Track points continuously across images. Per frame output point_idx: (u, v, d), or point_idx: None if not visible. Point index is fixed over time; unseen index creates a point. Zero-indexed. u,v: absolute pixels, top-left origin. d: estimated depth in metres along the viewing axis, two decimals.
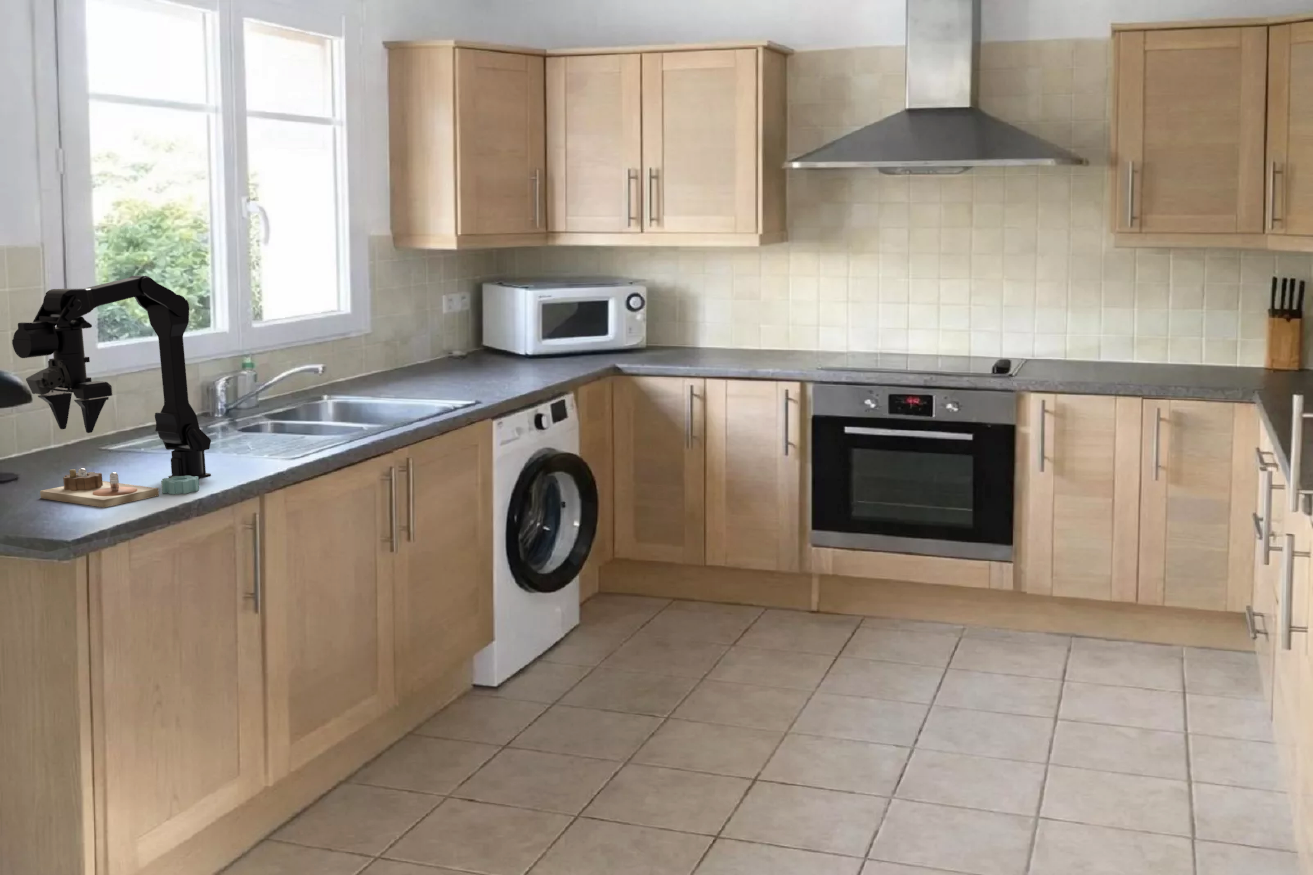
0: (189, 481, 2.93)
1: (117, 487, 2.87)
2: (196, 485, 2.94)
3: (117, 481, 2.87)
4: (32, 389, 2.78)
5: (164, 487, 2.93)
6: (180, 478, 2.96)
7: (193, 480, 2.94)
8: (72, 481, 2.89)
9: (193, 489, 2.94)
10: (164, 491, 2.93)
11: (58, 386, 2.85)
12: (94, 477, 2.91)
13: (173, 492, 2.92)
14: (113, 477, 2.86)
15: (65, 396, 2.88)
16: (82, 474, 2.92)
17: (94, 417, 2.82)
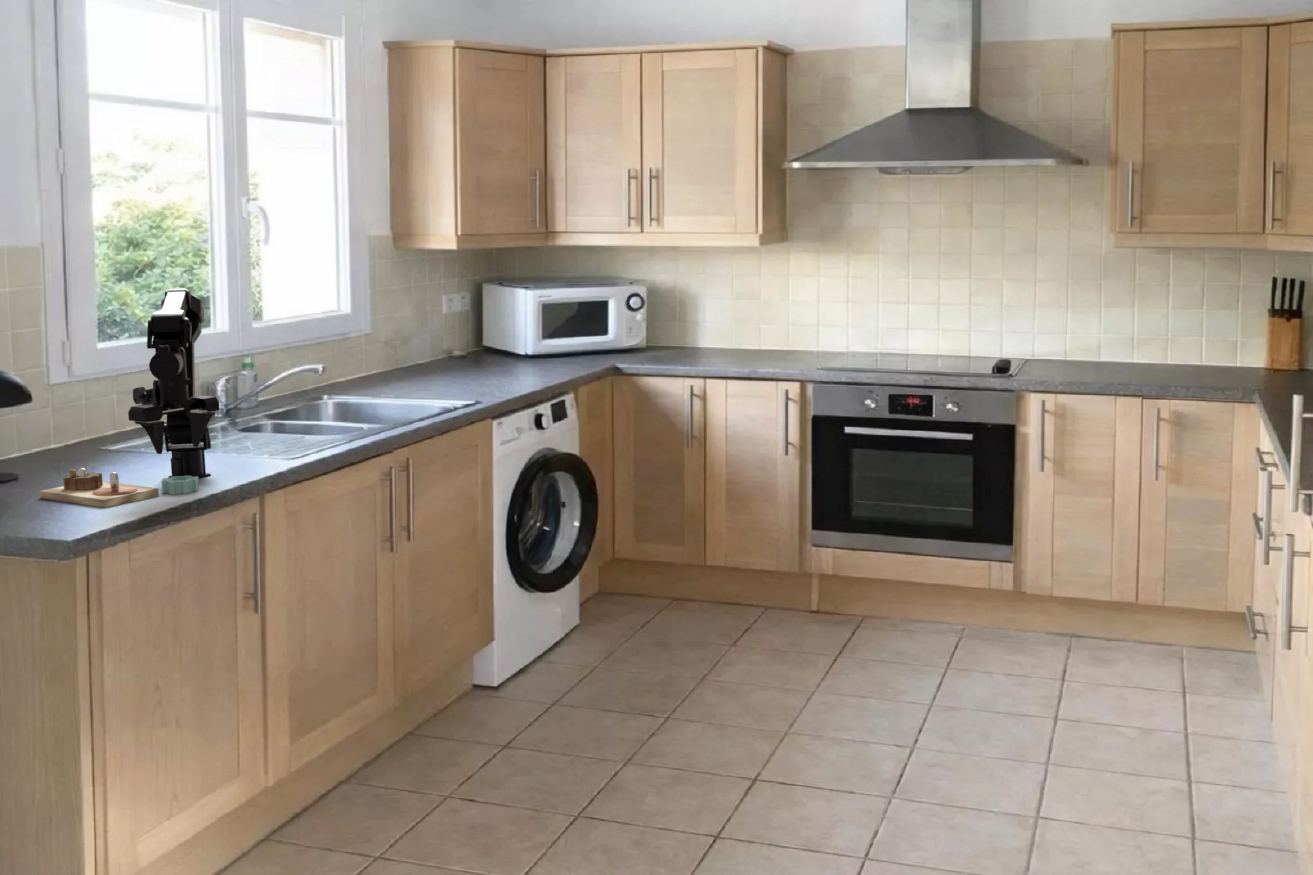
0: (189, 481, 2.93)
1: (117, 487, 2.87)
2: (196, 485, 2.94)
3: (117, 481, 2.87)
4: None
5: (164, 487, 2.93)
6: (180, 478, 2.96)
7: (193, 480, 2.94)
8: (72, 481, 2.89)
9: (193, 489, 2.94)
10: (164, 491, 2.93)
11: None
12: (94, 477, 2.91)
13: (173, 492, 2.92)
14: (113, 477, 2.86)
15: (200, 416, 2.96)
16: (82, 474, 2.92)
17: (156, 440, 2.88)
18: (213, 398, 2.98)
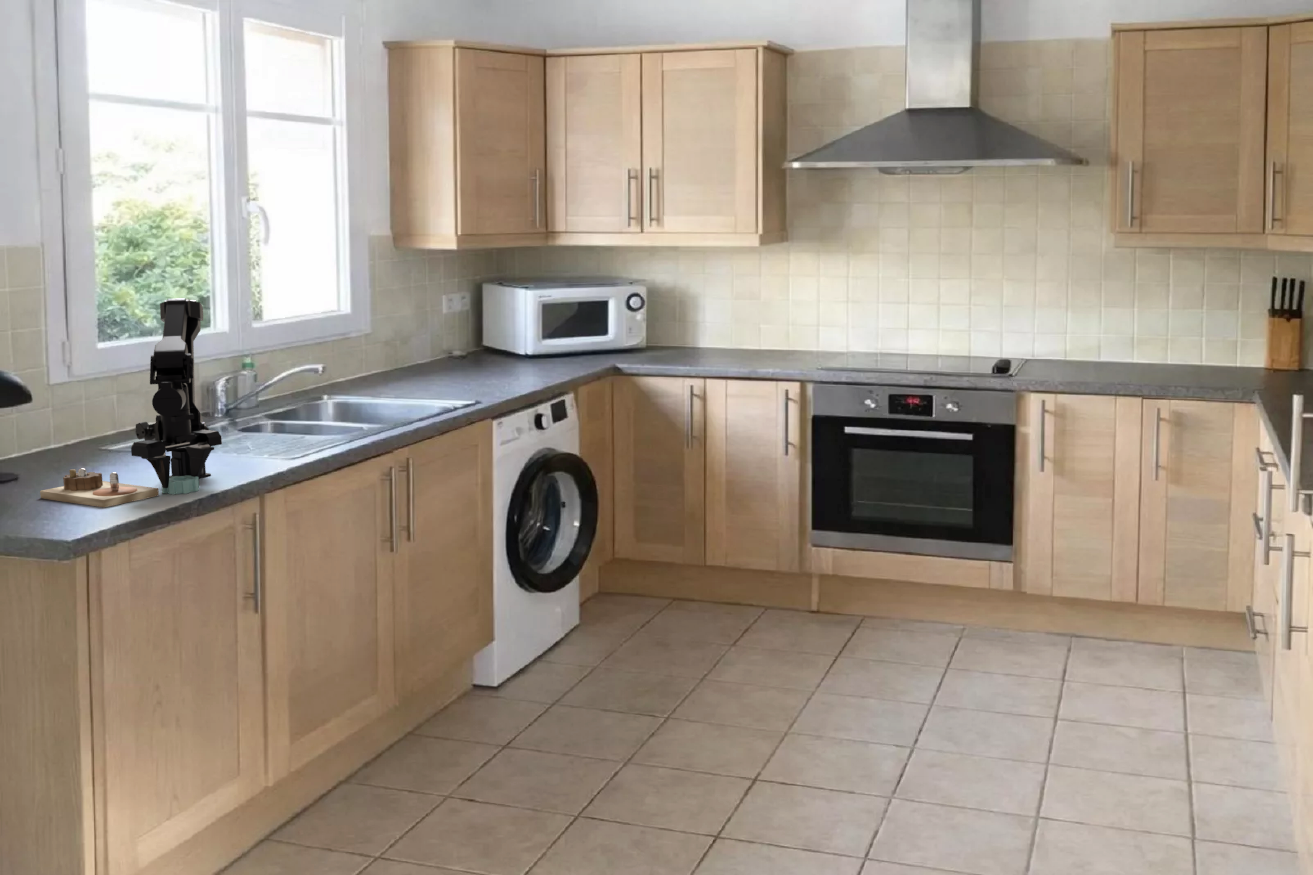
0: (189, 481, 2.93)
1: (117, 487, 2.87)
2: (196, 485, 2.94)
3: (117, 481, 2.87)
4: None
5: None
6: (180, 478, 2.96)
7: (193, 480, 2.94)
8: (72, 481, 2.89)
9: (193, 489, 2.94)
10: (164, 491, 2.93)
11: None
12: (94, 477, 2.91)
13: (173, 492, 2.92)
14: (113, 477, 2.86)
15: (199, 451, 2.97)
16: (82, 474, 2.92)
17: (162, 474, 2.90)
18: (215, 432, 2.99)
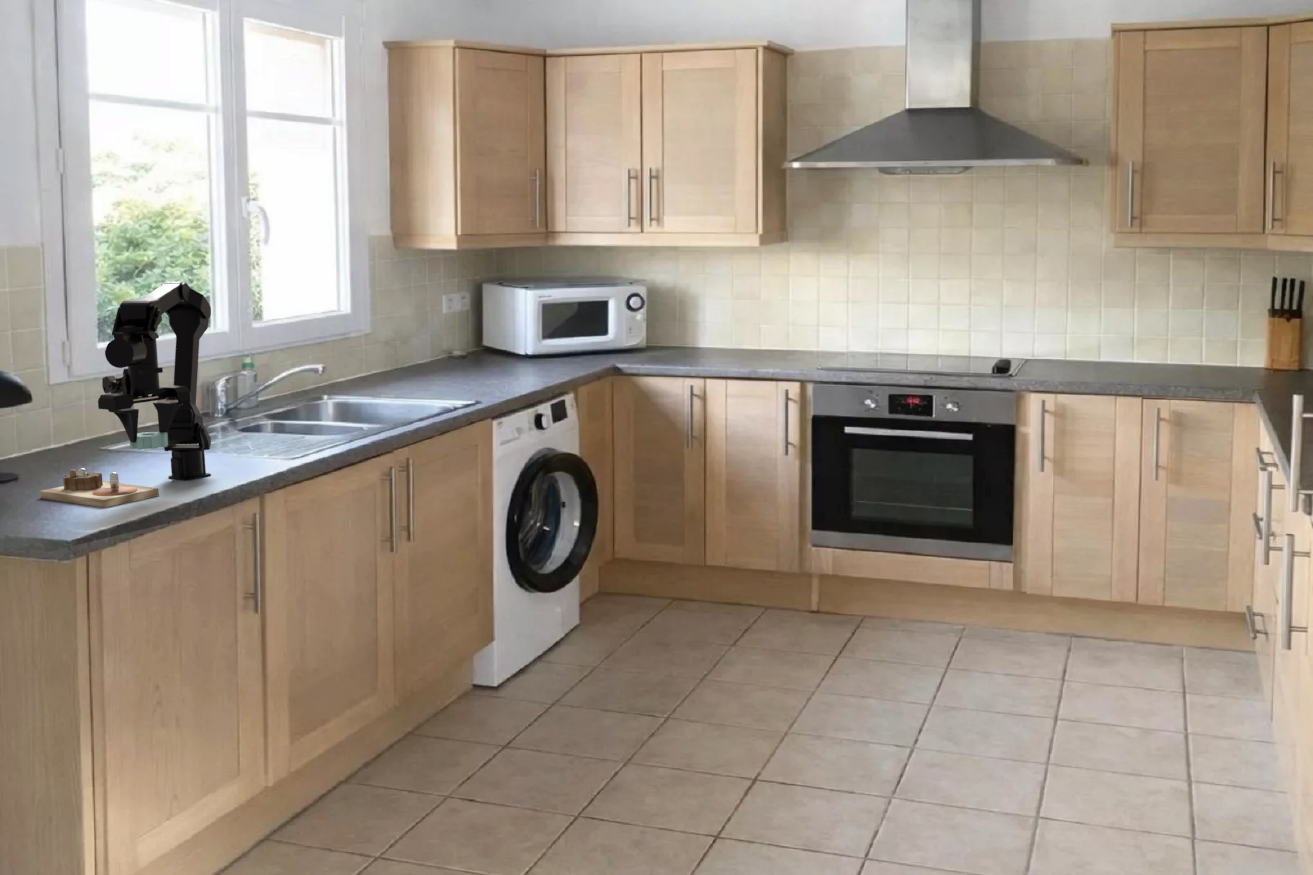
0: (158, 436, 2.88)
1: (117, 487, 2.87)
2: (165, 440, 2.89)
3: (117, 481, 2.87)
4: None
5: None
6: (148, 434, 2.91)
7: (162, 435, 2.89)
8: (72, 481, 2.89)
9: (162, 444, 2.89)
10: (132, 446, 2.87)
11: None
12: (94, 477, 2.91)
13: (141, 447, 2.86)
14: (113, 477, 2.86)
15: (167, 406, 2.92)
16: (82, 474, 2.92)
17: (130, 428, 2.85)
18: (184, 387, 2.94)
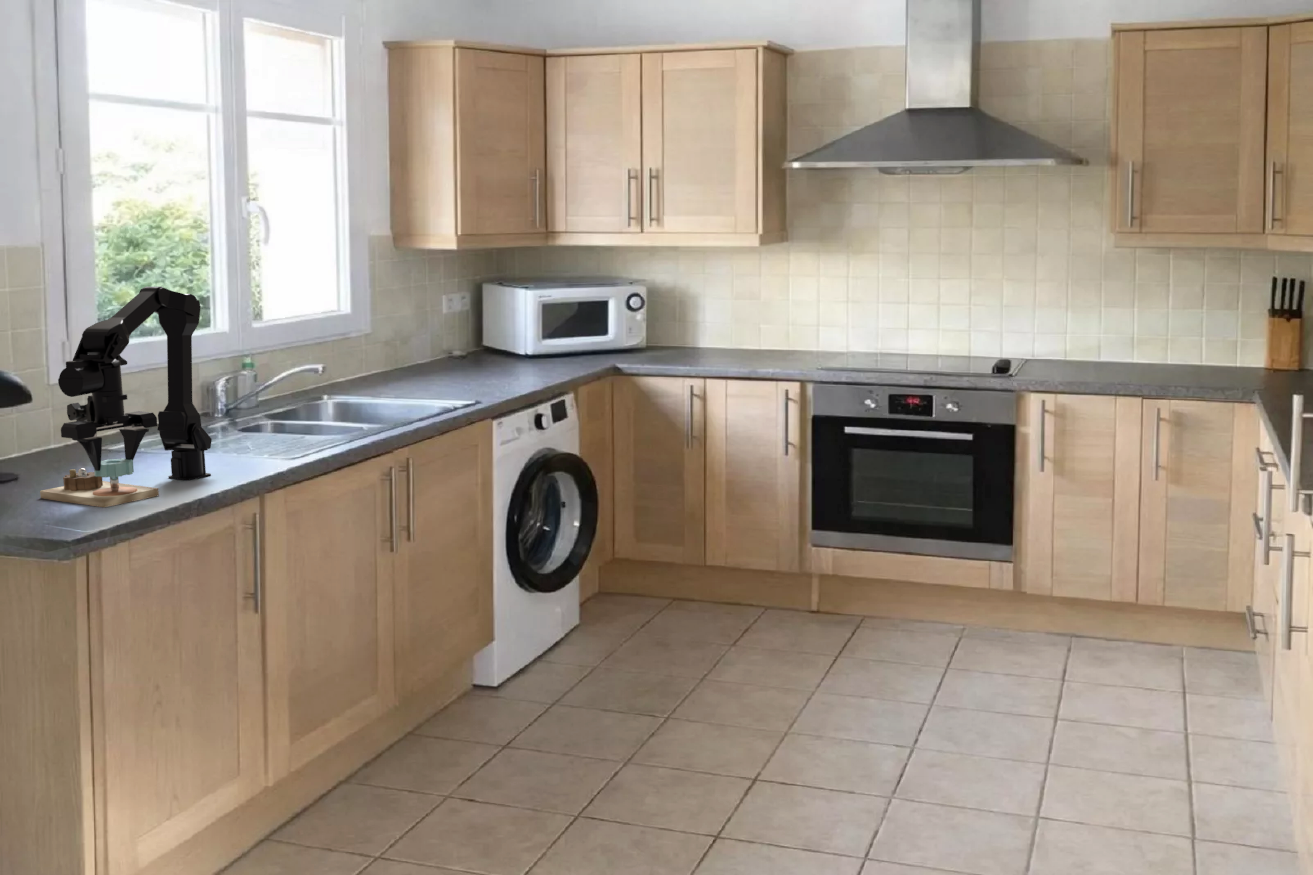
0: (122, 464, 2.85)
1: (117, 487, 2.87)
2: (130, 468, 2.86)
3: (117, 481, 2.87)
4: None
5: None
6: (114, 461, 2.88)
7: (126, 463, 2.86)
8: (72, 481, 2.89)
9: (126, 472, 2.86)
10: (96, 474, 2.85)
11: None
12: (94, 477, 2.91)
13: (105, 475, 2.83)
14: (113, 477, 2.86)
15: (133, 432, 2.88)
16: (82, 474, 2.92)
17: (94, 456, 2.82)
18: (150, 414, 2.91)
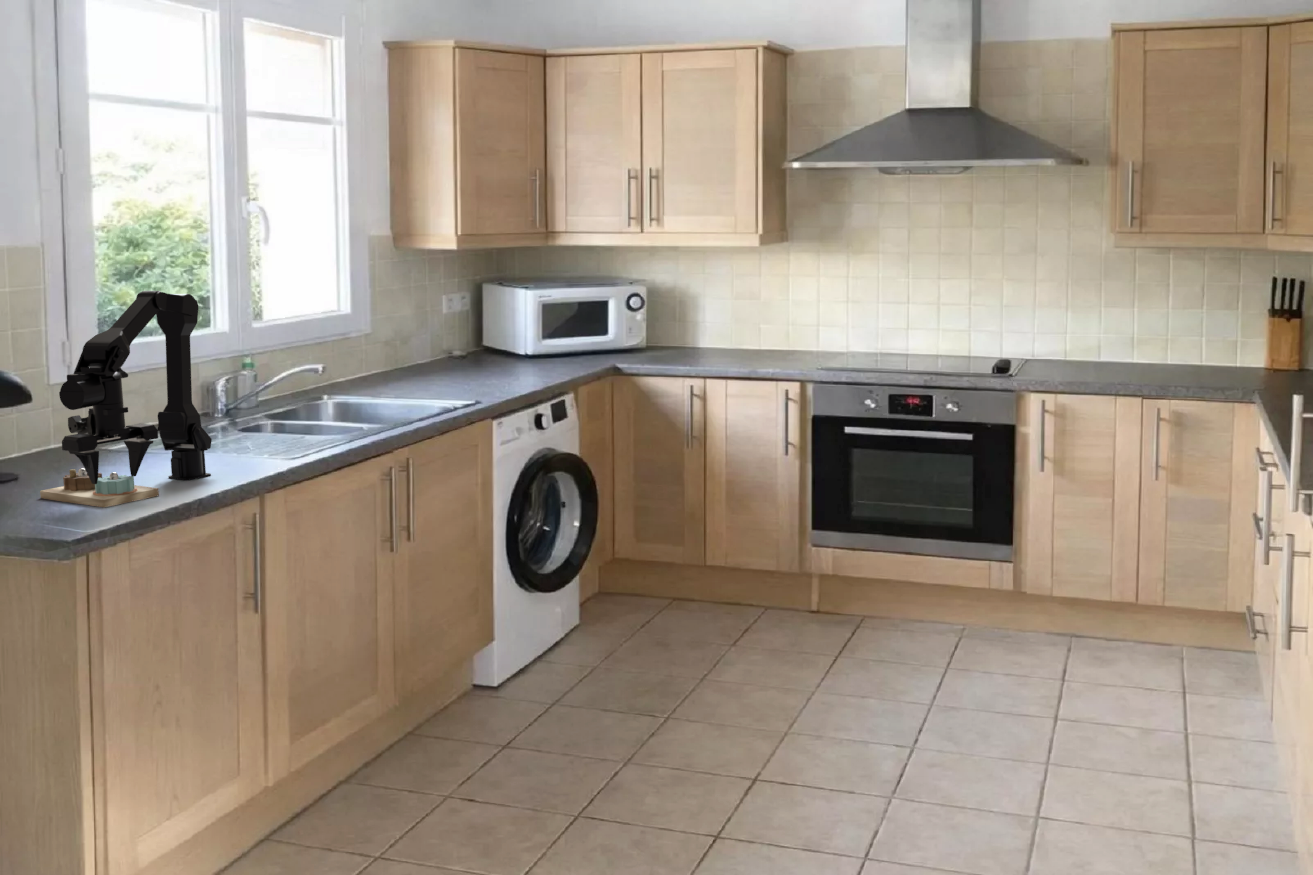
0: (123, 481, 2.85)
1: None
2: (130, 485, 2.87)
3: None
4: None
5: (97, 487, 2.85)
6: None
7: (127, 480, 2.86)
8: (72, 481, 2.89)
9: (127, 489, 2.86)
10: (97, 491, 2.85)
11: None
12: None
13: (106, 492, 2.84)
14: (113, 477, 2.86)
15: (137, 444, 2.90)
16: (82, 474, 2.92)
17: (91, 470, 2.82)
18: (151, 426, 2.91)
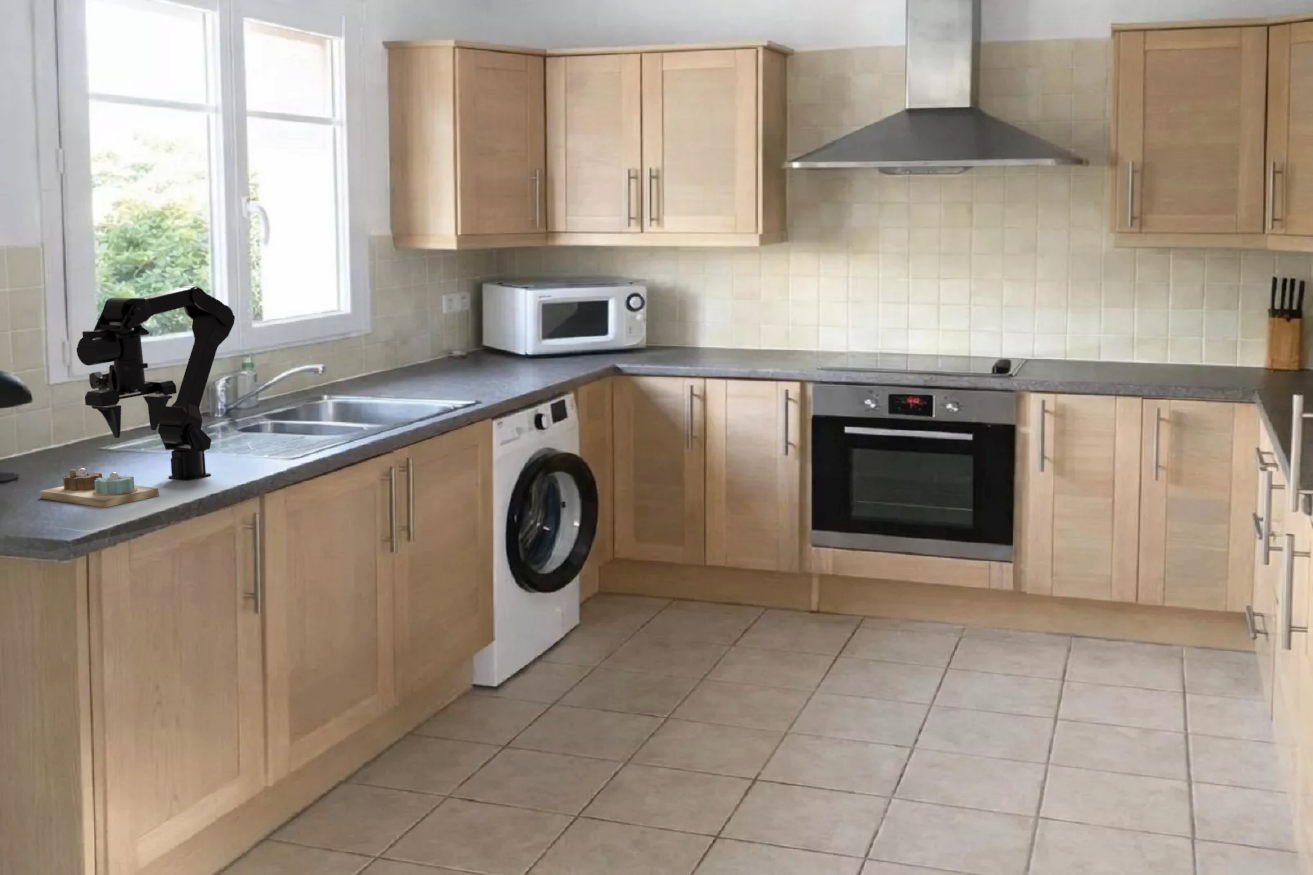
0: (123, 481, 2.85)
1: None
2: (130, 485, 2.87)
3: None
4: None
5: (97, 487, 2.85)
6: None
7: (127, 480, 2.86)
8: (72, 481, 2.89)
9: (127, 489, 2.86)
10: (97, 491, 2.85)
11: None
12: (94, 477, 2.91)
13: (106, 492, 2.84)
14: (113, 477, 2.86)
15: (157, 399, 2.99)
16: (82, 474, 2.92)
17: (113, 424, 2.91)
18: (170, 382, 3.00)
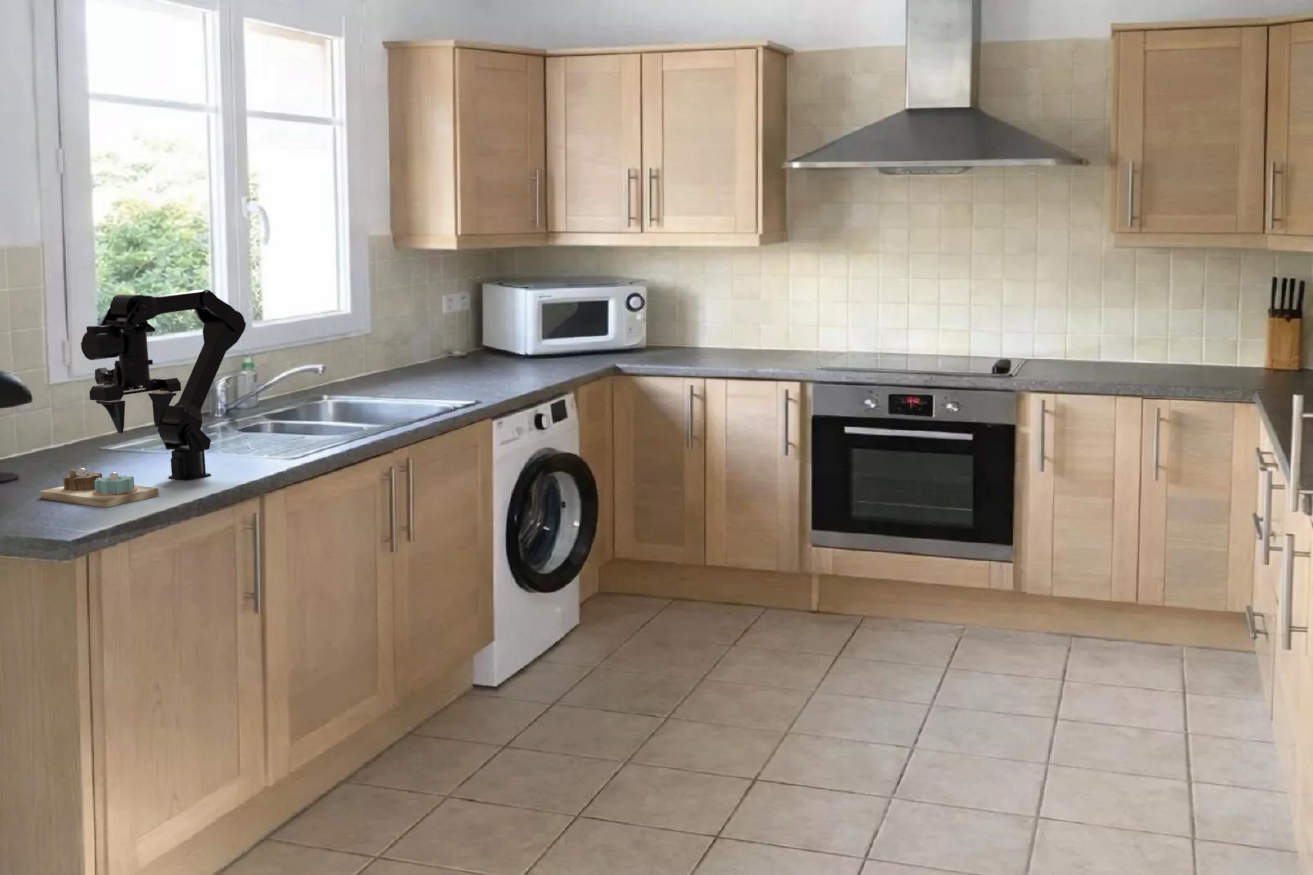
0: (123, 481, 2.85)
1: None
2: (130, 485, 2.87)
3: None
4: None
5: (97, 487, 2.85)
6: None
7: (127, 480, 2.86)
8: (72, 481, 2.89)
9: (127, 489, 2.86)
10: (97, 491, 2.85)
11: None
12: (94, 477, 2.91)
13: (106, 492, 2.84)
14: (113, 477, 2.86)
15: (161, 396, 3.01)
16: (82, 474, 2.92)
17: (117, 419, 2.93)
18: (174, 379, 3.02)
